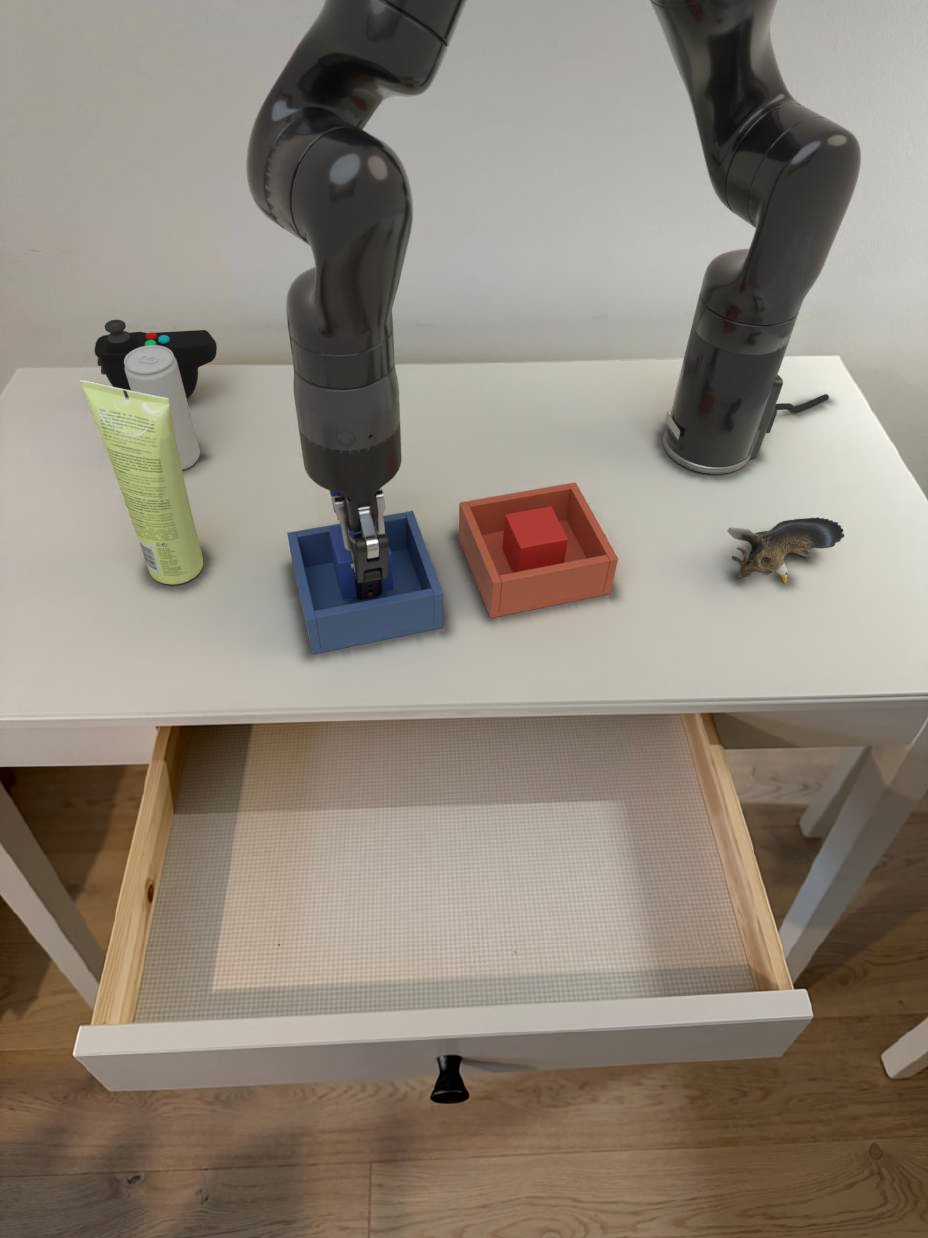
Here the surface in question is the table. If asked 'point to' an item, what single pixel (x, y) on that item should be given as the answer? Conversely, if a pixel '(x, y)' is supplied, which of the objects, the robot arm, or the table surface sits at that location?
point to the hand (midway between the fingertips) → (363, 573)
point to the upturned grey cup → (164, 393)
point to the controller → (184, 345)
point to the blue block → (344, 565)
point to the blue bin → (373, 618)
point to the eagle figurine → (784, 543)
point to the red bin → (544, 586)
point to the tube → (149, 477)
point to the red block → (533, 539)
